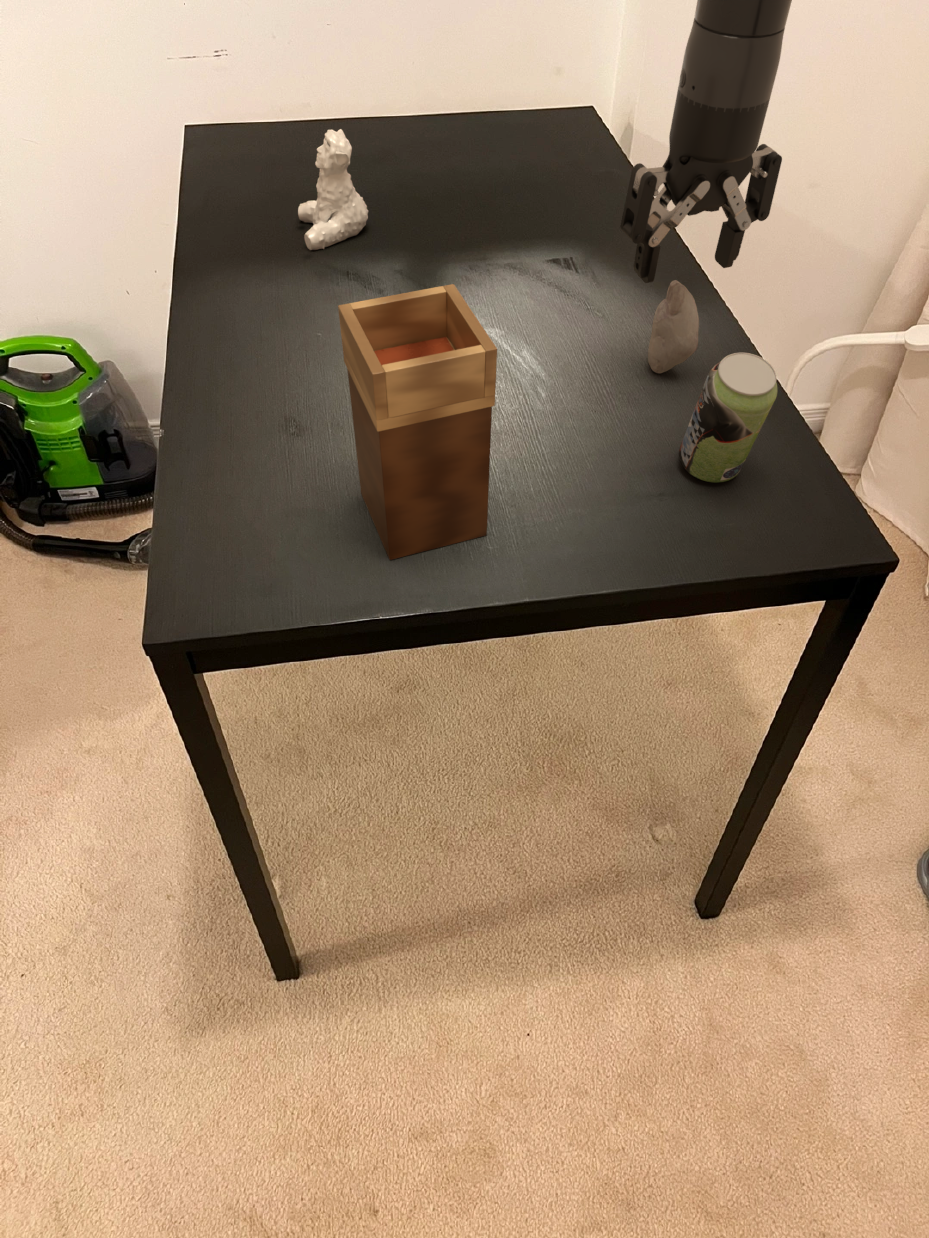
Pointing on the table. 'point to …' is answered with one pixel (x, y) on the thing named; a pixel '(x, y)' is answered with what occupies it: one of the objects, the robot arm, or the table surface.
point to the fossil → (673, 329)
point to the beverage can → (728, 417)
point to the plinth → (424, 478)
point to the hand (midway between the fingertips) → (684, 271)
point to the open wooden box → (418, 356)
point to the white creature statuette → (333, 196)
